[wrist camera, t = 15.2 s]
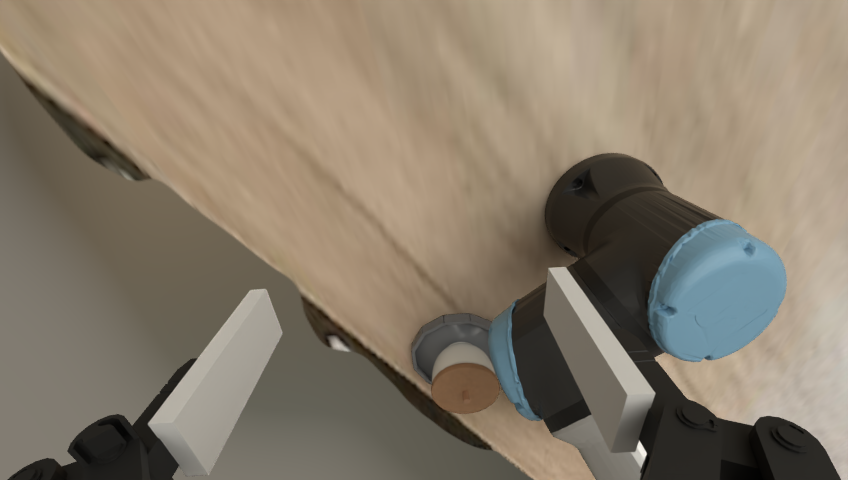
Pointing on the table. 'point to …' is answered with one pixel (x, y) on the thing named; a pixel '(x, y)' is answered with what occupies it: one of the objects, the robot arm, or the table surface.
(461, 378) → the lidded jar
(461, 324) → the dish
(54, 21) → the table surface
